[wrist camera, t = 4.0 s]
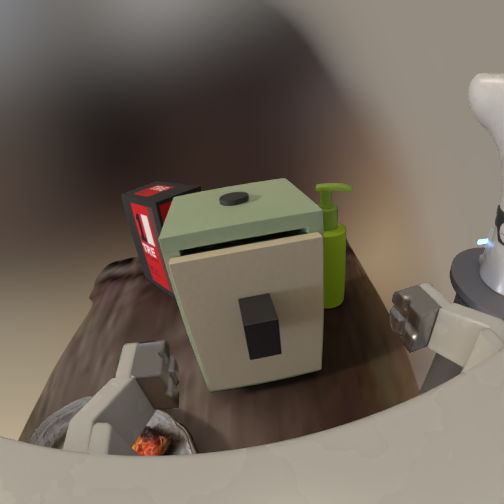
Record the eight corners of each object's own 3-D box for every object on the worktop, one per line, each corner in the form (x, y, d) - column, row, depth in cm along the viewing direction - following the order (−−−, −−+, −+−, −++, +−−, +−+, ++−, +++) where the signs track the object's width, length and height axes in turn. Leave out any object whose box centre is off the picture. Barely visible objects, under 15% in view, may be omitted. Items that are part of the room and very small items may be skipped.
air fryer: (321, 369, 36) (323, 203, 26) (209, 392, 35) (156, 232, 25) (295, 308, 49) (284, 173, 38) (206, 325, 48) (172, 192, 37)
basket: (331, 392, 31) (340, 256, 22) (213, 417, 30) (163, 289, 21) (294, 307, 46) (285, 196, 38) (207, 324, 45) (179, 214, 37)
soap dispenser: (349, 309, 46) (353, 190, 37) (308, 307, 48) (303, 190, 39) (349, 289, 51) (351, 179, 42) (312, 287, 53) (307, 180, 44)
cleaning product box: (219, 284, 58) (200, 186, 49) (183, 306, 53) (155, 202, 44) (177, 262, 69) (157, 181, 60) (145, 278, 64) (121, 194, 55)
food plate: (219, 415, 32) (212, 399, 30) (197, 590, 11) (185, 592, 9) (64, 396, 34) (52, 381, 32) (14, 515, 13) (-5, 504, 12)
